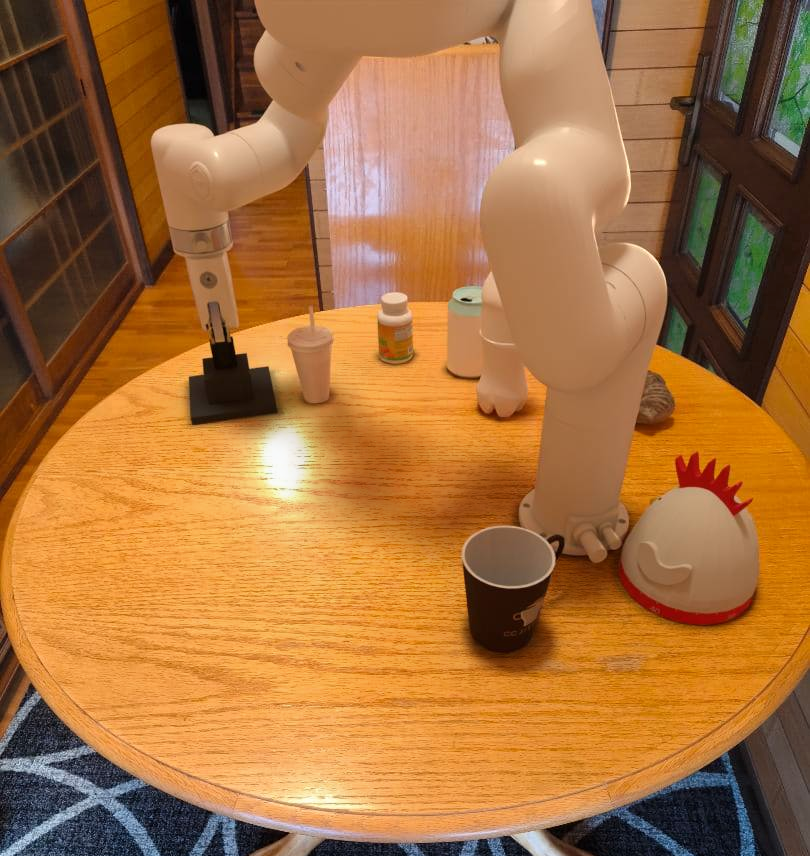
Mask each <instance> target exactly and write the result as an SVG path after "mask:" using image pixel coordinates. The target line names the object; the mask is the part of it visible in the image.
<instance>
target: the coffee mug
mask: <svg viewBox="0 0 810 856" xmlns="http://www.w3.org/2000/svg"><path fill="white" fill-rule="evenodd" d="M555 541H559V546H558V549H557V551H556V552H555V551H554V550H553V548H552V547H551V545H550V544H551V543H553V542H555ZM564 546H565V539H564V537H562V536H561V535H553V536H551V537H549V538H548V539H547V540H545V539H544V538H543V537H542V536H540V535H538V534H537V533H535V532H533V531H530V530H528V529H525V528H521V526H516V525H495V526H489V527H486V528H483V529H480V530H478V531H476V532H475V533H473V534H472V535H470V536H469V537H468V538H467V539H466V540H465V542H464V544H463V546H462V549H461V562H462V563H461V564H462V572H463V578H464V579H463V580H464V581H463V582H464V589H465V590H464V591H465V598H466V609H467V616H468V617H467V618H468V625H469V626H468V627H469V633H470V635H471V638H472V639H473V641H474V642H475V643H477V645H479V646H480V647H481V648H483V649H485V650H487V651H490V652H493V653H499V654H511V653H514V652H518V651H520V650H522V649H523V648H525V647H527V645H528V644H529V643H530V642H531V640H532V639H533V635H534V633H535V629H536V626H537V623H538V620H539V616H540V613H541V610H542V607H543V604H544V601H545V598H546V595H547V592H548V588H549V586H550V582H551V579H552V576H553V573H554V570H555V566H556V563H557V562H558V560H559V559H560V557H561V556H562V552H563V549H564Z"/></svg>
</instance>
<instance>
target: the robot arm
mask: <svg viewBox="0 0 810 856" xmlns="http://www.w3.org/2000/svg"><path fill="white" fill-rule="evenodd" d="M253 2H254V6H255V9H256V13H257V16H258V18H259V20H260V23H261V25H262V26H263V27H264V29H265V30H264V32H263V34H262V36H261V37H260V39H259V41H257V44H256V46H255V49H254V53H253V67H254V71H255V74H256V76H257V79H258V81H259V83H260V85H261V86H262V88H263V89H264V91H265V92H266V94H267V95H268V96H269V97H270V98H271V99H272V101H271V102H270V103H269V106H268V107H267V108H266V110H265V111H264V113H263V115H262V116H261V117H260V119H258V121H257V122H255V123H251V124H249V125H245V126H242V127H239V128H236V129H233V130H230V131H226V132H224V133H222V134H219V135H214V132H212V130H211V129H210V128H208V127H207V126H205V125H202V124H197V123H175V124H170V125H165V126H163V127H160V128H158V129H157V130H155V131H154V132H153V133H152V136H151V139H150V146H151V147H150V149H151V154H152V157H153V162H154V166H155V167H154V168H155V172H156V175H157V181H158V185H159V189H160V194H161V199H162V204H163V208H164V212H165V218H166V222H167V227H168V231H169V236H170V240H171V245H172V249H173V252H174V253H175V254H176V255H177V256H180V257H183V258H184V260H185V264H186V268H187V275H188V280H189V283H190V288H191V292H192V297H193V300H194V304H195V308H196V311H197V315H198V319H199V322H200V326H201V329H202V331H204V332H205V333H208V335H209V339H208V340H209V347H210V352H211V357H213V362H214V367H215V369H216V370H218V369H225V368H233V367H237V359H236V354H237V353H236V348H235V342H234V337H233V336H232V335H231V330H230V329H235V330H237V329H238V328H239V326H240V321H239V315H238V308H237V302H236V296H235V291H234V289H235V288H234V283H233V277H232V272H231V267H230V262H229V258H228V251H230V250H231V249H232V248H233V246H234V242H233V235H232V230H231V224H230V217H229V212H231V211H234V210H236V209H239V208H241V207H244V206H246V205H248V204H251V203H253V202H254V201H256V200H258V199H261V198H263V197H266V196H269V195H271V194H274V193H276V192H278V191H281V190H283V189H284V188H286V187H288V186H289V185H290V184H291V183H293V182H294V181H295V180H296V178H298V177H299V176H300V175H301V173H302V172H303V170H304V169H305V168H306V166H307V165H308V164H309V162H310V161H311V160H312V158H313V157H314V156H315V154H316V153H317V151H318V150H319V149H320V147H321V145H322V143H323V142H324V139H325V137H326V134H327V129H328V124H329V116H330V109H329V106H330V104H331V102H332V101H333V100H334V98H335V97H336V95H337V94H338V92H339V91H340V90H341V88H342V86H343V84H345V82H346V80H347V79H348V78H349V76H350V75H351V73H352V72H353V71H354V69H355V68H356V66H358V63H359V62H360V61H361V59H362V58H363V57H369V58H370V57H371V58H373V57H374V58H391V59H394V58H395V59H396V58H397V59H405V58H408V59H409V58H416V57H424V56H429V55H432V54H436V53H438V52H441V51H444V50H446V49H450V48H453V47H457V46H460V45H463V44H466V43H468V42H471V41H475V40H478V39H482V38H489V37H490V38H494V39H496V41H497V43H498V47H499V55H498V56H499V57H498V58H499V60H498V62H499V63H498V69H499V71H498V72H499V73H498V75H499V84H500V91H501V96H502V97H501V98H502V101H503V105H504V107H505V111H506V114H507V117H508V121H509V124H510V128H511V132H512V136H513V137H512V138H513V140H514V146H515V149H514V150H513V151H512V152H510V153H509V154H507V155H506V156H505V157H503V159H502V160H501V161H500V162H498V163H497V165H496V166H495V167H494V169H493V170H492V171H491V172H490V175H489V176H488V178H487V180H486V182H485V185H484V188H483V191H482V194H481V199H480V206H479V207H480V208H479V226H480V227H479V228H480V233H481V234H480V235H481V239H482V244H483V248H484V250H485V251H484V252H485V255H486V258H487V261H488V264H489V267H490V272H491V271H492V274H493V277H494V280H495V283H496V287H497V290H498V293H499V296H500V299H501V302H502V306H503V309H504V312H505V315H506V318H507V321H508V325H509V328H510V331H511V334H512V337H513V340H514V343H515V345H516V348H517V350H518V353H519V355H520V357H521V359H522V361H523V362H524V364H525V368H526V369H527V370H528V372H529V373H530V374H531V375H532V376H533V377H534V378H535V379H536V380H537V381H538V382H539V383H541V384H542V385H543V386H545V387H546V390H545V391H546V392H545V400H544V406H543V415H542V423H541V431H540V441H539V451H538V459H537V466H536V467H537V469H536V475H535V485H534V488H533V489H532V490H530V491H529V492H528V493H527V494H525V496H524V497H523V498H522V499H521V501H520V503H519V507H518V522H519V525H520V527H521V528H525V529H528V530H530V531H533V532H535V533H537V534H538V535H540V536H542V537H543V538H544V539H545V540H547V539H548V538H549V537H551V536H553V535H561V536H562V537H564V539H565V546H564V549H563V552H562V553H561V555H562V554H564V555H568V556H581V557H582V556H588V559H589V560H590V561H591V562H592V563H594V564H597V563H601V562H603V561H604V560H605V559H606V558H607V556H608V551H610V550H612V551H613V550H614V551H615V550H618V549H619V548H621V547H622V546H623V540H624V539H625V538H626V536H627V533H628V529H629V527H630V517H629V512H628V510H627V508H626V507H625V505H624V504H623V503H622V501H621V500H620V499H621V494H622V489H623V484H624V480H625V476H626V470H627V465H628V461H629V455H630V453H631V447H632V442H633V438H634V437H633V436H634V433H635V428H636V427H635V426H636V424H637V423H636V419H637V415H638V412H639V407H640V403H641V398H642V394H643V389H644V385H645V380H646V376H647V373H648V370H649V368H650V365H651V362H652V359H653V355H654V352H655V349H656V346H657V342H658V339H659V337H660V333H661V331H662V328H663V323H664V321H665V320H664V319H665V315H666V311H667V305H668V286H667V280H666V276H665V273H664V270H663V268H662V267H661V264H659V261H658V260H657V259H656V258H655V256H654V255H653V254H651V253H650V252H649V251H647V250H646V249H644V248H643V247H641V246H639V245H637V244H633V243H630V242H629V243H628V242H612V243H607V244H604V245H601V246H598V244H597V239H596V238H598V237H599V236H600V235H601V234H603V233H604V232H605V231H606V230H607V229H609V228H610V226H612V225H613V223H614V222H616V221H617V219H618V218H619V217H620V216H621V215H622V213H623V211H625V208H626V207H627V204H628V201H629V200H630V199H629V198H630V194H631V190H632V189H631V188H632V185H631V184H632V182H631V171H630V165H629V161H628V155H627V153H626V148H625V144H624V140H623V136H622V132H621V127H620V122H619V118H618V113H617V109H616V105H615V101H614V95H613V93H612V87H611V84H610V83H611V82H610V79H609V75H608V71H607V68H606V65H605V61H604V57H603V52H602V47H601V44H600V38H599V34H598V29H597V24H596V20H595V19H596V18H595V14H594V9H593V4H592V0H253ZM550 545H551V547H552V548H553V550H554V553H556V551H557V549H558V546H559V541H555V542H553V543H551V544H550Z"/></svg>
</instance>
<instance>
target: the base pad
mask: <svg viewBox="0 0 810 856" xmlns="http://www.w3.org/2000/svg"><path fill="white" fill-rule="evenodd" d="M249 369H250V375H251V381H252V387H253V393H254V399H247V400H239V401H231V402H224V403H217V404H209V401H208V396H207V392H206V387H205V382H204V374H197V375H189V376H188V389H189V391H188V392H189V410H190V411H189V412H190V414H189V415H190V422H191V425H192V426H194V425H203V424H209V423H216V422H223V421H229V420H230V421H232V420H237V419H239V420H240V419H245V418H246V419H247V418H252V417H253V418H254V417H259V416H267V415H274V414H278V413H279V410H278V405H277V404H278V403H277V399H276V395H275V391H274V385H273V381H272V376H271V372H270V367H269V365H268V366H267V365H266V366H260V367H252V368H251V367H250V368H249Z"/></svg>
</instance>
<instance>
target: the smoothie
mask: <svg viewBox="0 0 810 856" xmlns="http://www.w3.org/2000/svg"><path fill="white" fill-rule="evenodd" d="M308 312H309V313H308V314H309V322H310V325H305V326H301V327H298V328H295V329H293V330H292V331H290V332H289V333H288V334H287V339H286V340H287V347H289V349H290V350H291V353H292V354H291V355H292V357H293V361H294V365H295V369H296V373H297V377H298V380H299V385H300V388H301V392H302V396H303V399H304V401H305V402H307V403H309V404H321V403H324V402H326V401H328V400H329V399H330V387H331V386H330V385H331V364H332V363H331V361H332V357H331V356H332V345H333V344H334V341H335V340H334V334H333V332H332V330H330V329H328V328H326V327H324V326H319V325H315V324H316V323H315V315H314V314H315V313H314V305H312V304H309V305H308Z"/></svg>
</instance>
